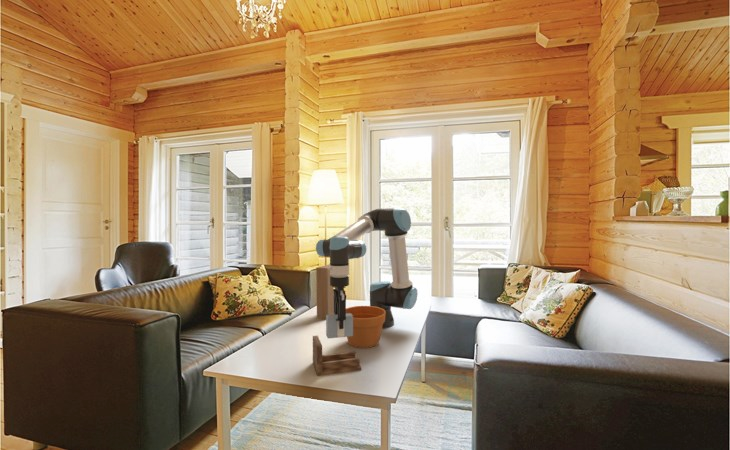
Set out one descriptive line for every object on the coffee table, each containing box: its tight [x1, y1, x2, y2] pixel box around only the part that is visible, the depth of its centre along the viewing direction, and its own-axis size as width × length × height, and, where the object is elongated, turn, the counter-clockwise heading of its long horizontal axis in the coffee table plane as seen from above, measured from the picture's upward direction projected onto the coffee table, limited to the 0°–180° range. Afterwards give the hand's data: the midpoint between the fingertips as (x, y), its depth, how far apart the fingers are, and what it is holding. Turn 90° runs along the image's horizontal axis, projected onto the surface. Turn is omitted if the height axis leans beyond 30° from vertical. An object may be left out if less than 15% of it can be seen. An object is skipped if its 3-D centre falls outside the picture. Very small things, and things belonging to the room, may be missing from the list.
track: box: [312, 335, 362, 377], centre depth 134 cm, size 17×12×11 cm
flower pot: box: [346, 305, 386, 349], centre depth 160 cm, size 21×21×15 cm
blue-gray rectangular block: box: [325, 313, 353, 339], centre depth 135 cm, size 10×4×8 cm, turn 106°
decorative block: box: [315, 263, 335, 320], centre depth 206 cm, size 15×8×30 cm, turn 157°
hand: (339, 334), depth 135 cm, fingers closed on blue-gray rectangular block, 4 cm apart
